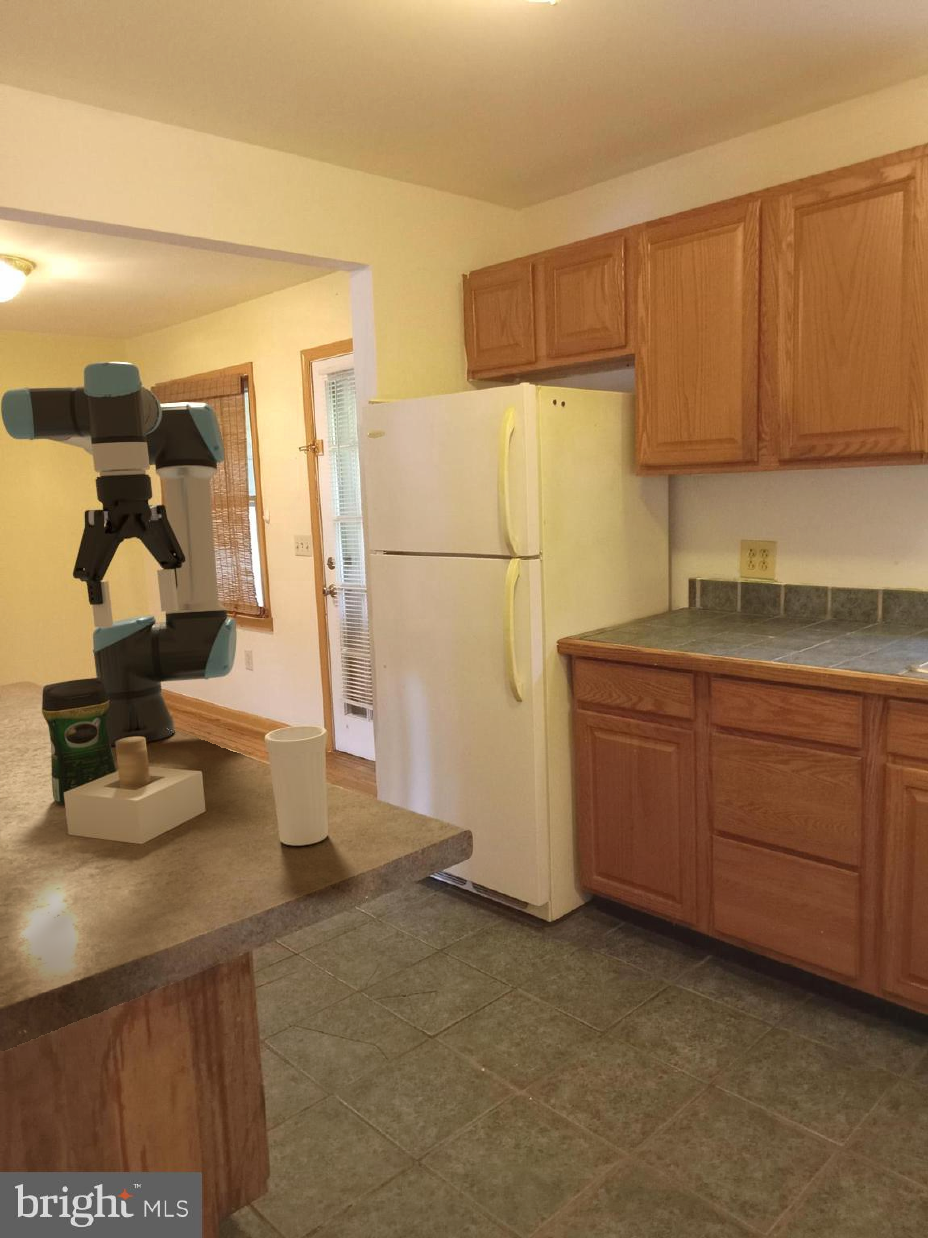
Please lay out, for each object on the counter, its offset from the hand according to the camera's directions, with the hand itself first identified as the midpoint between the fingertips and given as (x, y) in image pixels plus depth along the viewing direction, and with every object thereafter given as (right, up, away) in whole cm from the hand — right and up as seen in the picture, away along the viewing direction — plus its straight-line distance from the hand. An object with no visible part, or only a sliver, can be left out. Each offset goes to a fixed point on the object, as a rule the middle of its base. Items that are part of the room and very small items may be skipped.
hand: (138, 618), depth 134 cm
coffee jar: (-11, -28, +7) cm, 31 cm away
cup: (+27, -29, -15) cm, 43 cm away
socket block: (+2, -29, -6) cm, 30 cm away
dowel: (+2, -29, -6) cm, 29 cm away
